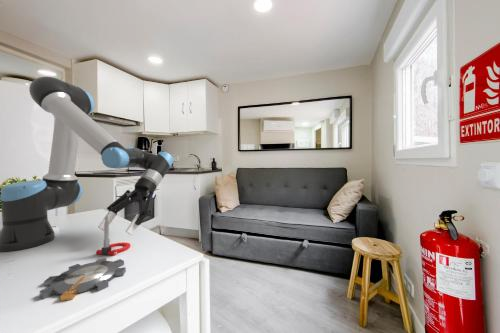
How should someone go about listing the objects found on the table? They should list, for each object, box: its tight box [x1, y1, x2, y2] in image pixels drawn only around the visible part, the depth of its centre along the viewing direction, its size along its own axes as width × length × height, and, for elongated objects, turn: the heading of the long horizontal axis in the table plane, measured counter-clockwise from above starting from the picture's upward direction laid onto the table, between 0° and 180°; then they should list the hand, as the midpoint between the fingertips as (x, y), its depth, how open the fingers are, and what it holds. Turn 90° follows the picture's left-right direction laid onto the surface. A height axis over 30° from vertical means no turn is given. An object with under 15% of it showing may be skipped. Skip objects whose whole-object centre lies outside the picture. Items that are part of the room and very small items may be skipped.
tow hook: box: [95, 215, 131, 256], centre depth 72 cm, size 8×13×9 cm
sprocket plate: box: [39, 257, 127, 302], centre depth 55 cm, size 18×18×1 cm
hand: (114, 231), depth 71 cm, fingers open, 13 cm apart
